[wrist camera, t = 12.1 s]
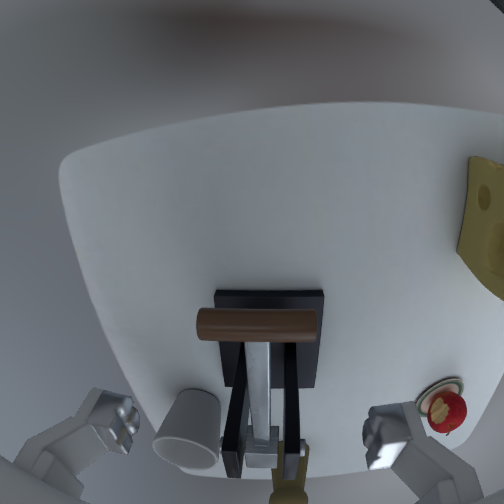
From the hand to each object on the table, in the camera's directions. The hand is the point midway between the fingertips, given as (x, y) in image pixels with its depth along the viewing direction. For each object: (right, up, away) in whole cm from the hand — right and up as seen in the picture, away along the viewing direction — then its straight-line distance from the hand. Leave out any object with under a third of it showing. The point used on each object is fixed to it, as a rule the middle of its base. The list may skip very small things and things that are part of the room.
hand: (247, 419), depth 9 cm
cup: (-7, -15, +27) cm, 31 cm away
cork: (+6, -24, +29) cm, 38 cm away
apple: (+26, -15, +24) cm, 38 cm away
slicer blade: (+1, -3, +8) cm, 8 cm away
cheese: (+25, +10, +14) cm, 31 cm away
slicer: (+2, -4, +21) cm, 22 cm away
